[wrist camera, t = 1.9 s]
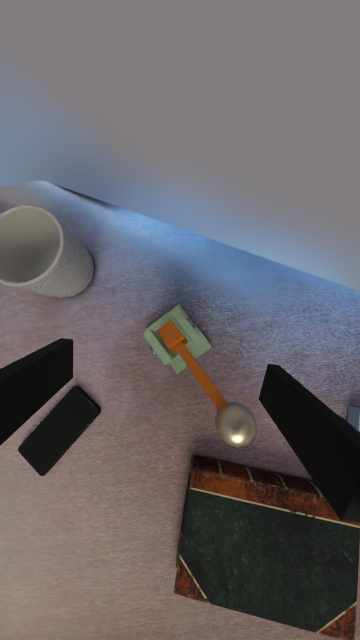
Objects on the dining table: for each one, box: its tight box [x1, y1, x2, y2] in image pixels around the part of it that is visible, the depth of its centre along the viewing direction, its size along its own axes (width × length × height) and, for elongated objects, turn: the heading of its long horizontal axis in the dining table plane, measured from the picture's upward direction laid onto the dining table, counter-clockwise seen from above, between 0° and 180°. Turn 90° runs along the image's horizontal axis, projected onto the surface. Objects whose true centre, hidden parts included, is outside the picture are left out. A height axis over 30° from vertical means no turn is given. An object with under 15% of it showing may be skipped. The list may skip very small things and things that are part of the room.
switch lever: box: [157, 320, 257, 448], centre depth 19 cm, size 14×4×4 cm, turn 38°
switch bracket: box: [143, 304, 212, 374], centre depth 27 cm, size 10×8×14 cm
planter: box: [0, 205, 94, 298], centre depth 31 cm, size 12×12×11 cm
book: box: [174, 455, 360, 640], centre depth 28 cm, size 17×4×25 cm
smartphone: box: [18, 386, 101, 476], centre depth 32 cm, size 7×1×15 cm
